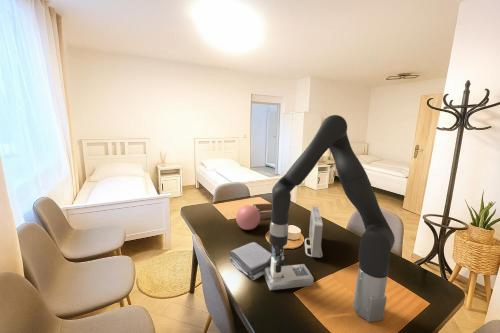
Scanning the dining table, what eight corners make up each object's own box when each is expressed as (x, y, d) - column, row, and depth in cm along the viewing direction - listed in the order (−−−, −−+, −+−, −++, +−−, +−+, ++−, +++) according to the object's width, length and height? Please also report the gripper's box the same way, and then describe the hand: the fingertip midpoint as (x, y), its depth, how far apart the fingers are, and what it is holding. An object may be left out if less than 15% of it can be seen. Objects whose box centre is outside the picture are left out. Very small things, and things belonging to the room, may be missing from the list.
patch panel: (312, 286, 96) (313, 277, 95) (269, 291, 92) (270, 282, 91) (303, 271, 105) (304, 263, 104) (263, 275, 101) (264, 267, 100)
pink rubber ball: (268, 226, 149) (269, 204, 146) (248, 237, 135) (249, 212, 132) (251, 219, 159) (251, 198, 156) (230, 228, 144) (231, 205, 141)
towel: (252, 252, 120) (252, 238, 118) (276, 270, 106) (277, 255, 104) (228, 262, 110) (228, 247, 109) (251, 283, 96) (252, 267, 95)
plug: (281, 280, 95) (283, 259, 93) (272, 281, 95) (274, 260, 93) (278, 274, 99) (280, 254, 97) (270, 275, 98) (271, 255, 96)
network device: (323, 262, 112) (327, 225, 108) (305, 260, 114) (309, 223, 110) (318, 237, 136) (322, 206, 133) (304, 235, 138) (306, 205, 134)
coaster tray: (279, 217, 163) (279, 211, 162) (257, 219, 160) (257, 212, 159) (272, 209, 179) (273, 203, 178) (252, 210, 176) (253, 204, 175)
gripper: (293, 239, 87) (290, 279, 90) (281, 223, 100) (279, 258, 104) (275, 241, 85) (272, 281, 88) (265, 224, 99) (263, 259, 102)
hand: (276, 268), depth 96 cm, fingers closed on plug, 3 cm apart
